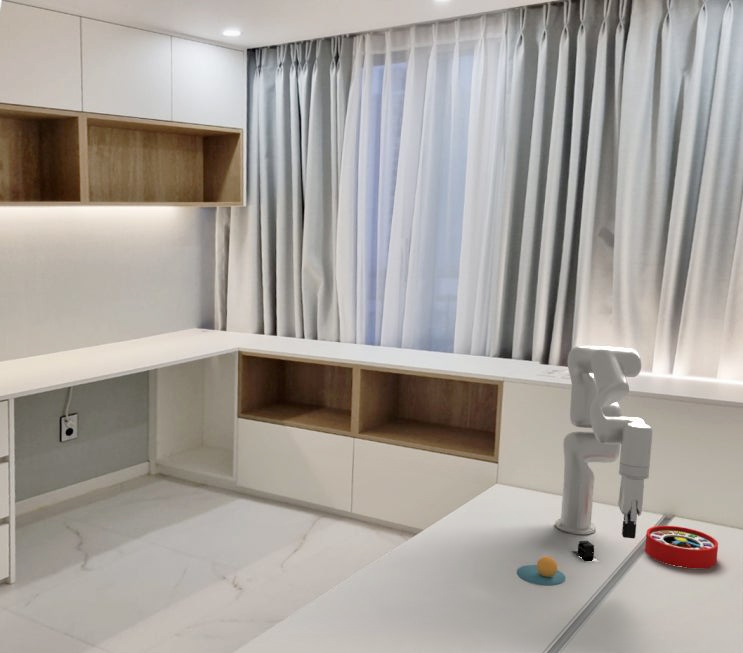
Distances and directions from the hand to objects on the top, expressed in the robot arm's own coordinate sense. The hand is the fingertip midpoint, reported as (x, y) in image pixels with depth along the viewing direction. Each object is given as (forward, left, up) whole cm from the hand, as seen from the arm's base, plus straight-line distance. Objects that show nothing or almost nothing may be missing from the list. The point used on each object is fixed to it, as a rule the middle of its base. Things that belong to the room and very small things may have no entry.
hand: (628, 536), depth 209 cm
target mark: (0, -22, -13) cm, 26 cm away
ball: (0, -21, -11) cm, 23 cm away
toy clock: (-28, +20, -14) cm, 37 cm away
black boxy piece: (-18, -9, -14) cm, 25 cm away
